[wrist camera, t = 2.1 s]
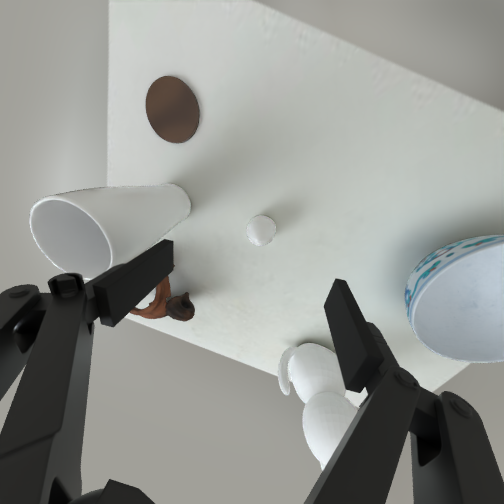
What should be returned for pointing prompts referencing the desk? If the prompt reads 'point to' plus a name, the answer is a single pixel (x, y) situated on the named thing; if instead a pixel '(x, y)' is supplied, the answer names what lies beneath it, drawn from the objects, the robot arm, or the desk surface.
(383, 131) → the desk surface
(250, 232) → the egg
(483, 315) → the chinaware
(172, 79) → the coaster
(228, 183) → the desk surface
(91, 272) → the drinking glass
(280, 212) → the desk surface
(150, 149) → the desk surface
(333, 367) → the cat figurine
